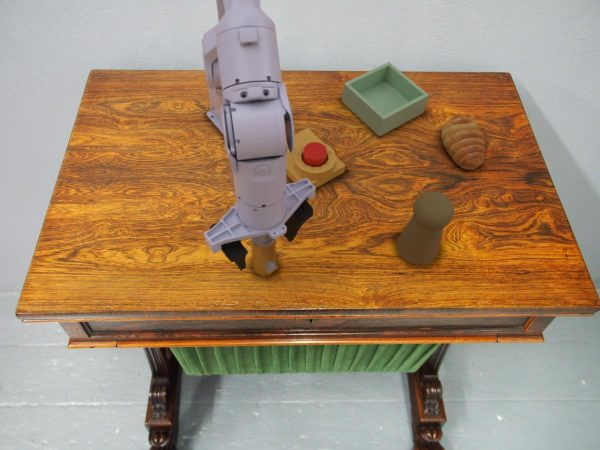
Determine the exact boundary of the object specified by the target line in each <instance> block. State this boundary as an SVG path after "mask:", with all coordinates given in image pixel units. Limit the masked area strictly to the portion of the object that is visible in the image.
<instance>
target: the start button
mask: <svg viewBox="0 0 600 450" xmlns="http://www.w3.org/2000/svg"><path fill="white" fill-rule="evenodd" d="M326 157H327V149H326V147H325V146H324V145H323V144H321V143H318V142H311V143H309V144H307V145H306V146H305V147H304V151H303V160H304V162H305V163H306V164H307V165H309V166H312V167H319V166H321V165H323V164H324V163H325V161H326Z"/></svg>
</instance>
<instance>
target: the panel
mask: <svg viewBox="0 0 600 450" xmlns="http://www.w3.org/2000/svg"><path fill="white" fill-rule="evenodd" d="M311 142H318V143H321V144H323V145H324V146H325V147H326V149H327V157H326V161H325V163H324V164H323V165H321V166H319V167H312V166H309V165H307V164H306V163H305V162H304V160H303V151H304V147H305V146H306V145H307V144H309V143H311ZM286 146H287V171H286V176H287V177H288V178H289V179H290V180H291V182H292V183H294V182H298V181H301V180H303V179H305V178H307V179H308V180H309V181H310V182H311V183H312V184H313V186H314V187H315V188H319V187H320V186H322V185H324V184H325V183H327V182H329V181H331V180H333V179H335V178H337V177H338V176H340V175H342V174H344V173H345V170H346V164H345V163H344V162H343V161H342V160H341V159H340V158H339V157H338V156H337V155H336V152H335V150H334V149H333V148H332V147H331V146H330V145H329V144H327V143H325V142H323V141H322V140H321V139H320V138H319V137H318V135H316V134H315V133H314V132H313V130H312V129H310V128H309V127H307V128H305V129H303V130H301V131H299V132H296V133H294V148H293V153H290V151H289V149H288V145H287V140H286Z"/></svg>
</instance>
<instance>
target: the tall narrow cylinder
mask: <svg viewBox="0 0 600 450" xmlns="http://www.w3.org/2000/svg"><path fill="white" fill-rule="evenodd" d="M276 241H277V240H276V239H272V238H271V237H270V236H269V235H267V234H266V235H261V236H257V237H252V238H250V247H251V248H250V253H251V257H252V258H251V259H252V268H253V271H254V272H255V273H256V274H257V275H259V276H262V277H267V276H270V275H272V274H273V273H274V272H275V271H276V270H278V269H279V266H278V264H277V245H276V243H277V242H276Z"/></svg>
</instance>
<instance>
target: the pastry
mask: <svg viewBox="0 0 600 450" xmlns="http://www.w3.org/2000/svg"><path fill="white" fill-rule="evenodd" d="M440 136H441V137H440V138H441V142H442V146H443V147H444V148H445V150H446V152H447V154H448V155H449V156H450V157H451V159H452V161H453V162H454V163H455V164H456V165H458V166H459V167H460V168H461V169H463V170H476V169H477V168H478V167H480V166H481V165H482V164H484V162H485V155H486V154H487V152H486V137H485V135H484V133H483V128H482V127H481V126H480V125H479V124H477V123H476V122H475V119H473V118H472V117H470V116H458V117H456V118H455V119H454V118H453V119H451V120H449V121H448V122H446V123H445V124H444V125H443V126H442V128H441V135H440Z"/></svg>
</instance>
